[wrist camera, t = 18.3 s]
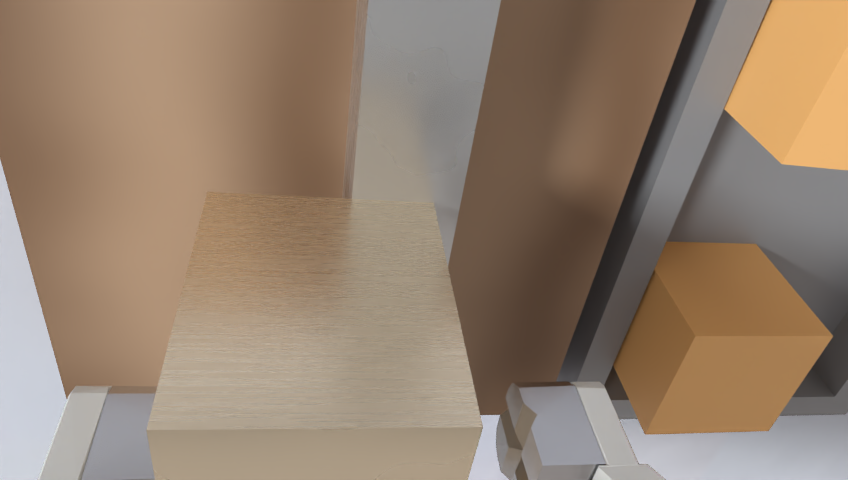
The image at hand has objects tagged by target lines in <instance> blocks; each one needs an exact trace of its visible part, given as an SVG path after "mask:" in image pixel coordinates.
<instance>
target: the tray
mask: <svg viewBox="0 0 848 480" xmlns="http://www.w3.org/2000/svg"><path fill="white" fill-rule="evenodd" d="M770 1H771V0H696V2H695V5H694V8H693V10H692V13H691V16H690V18H689V21H688V24H687V27H686V29H685V32H684V35H683V37H682V40H681V43H680V46H679V48H678V51H677V54H676V57H675V59H674V62H673V65H672V67H671V70H670V73H669V76H668V78H667V81H666V84H665V86H664V89H663V92H662V95H661V97H660V100H659V103H658V105H657V108H656V111H655V114H654V116H653V119H652V122H651V125H650V127H649V130H648V133H647V135H646V138H645V141H644V144H643V146H642V149H641V152H640V154H639V157H638V160H637V163H636V165H635V168H634V171H633V173H632V176H631V179H630V182H629V184H628V187H627V190H626V193H625V195H624V198H623V201H622V203H621V206H620V209H619V212H618V214H617V217H616V220H615V222H614V225H613V228H612V231H611V233H610V236H609V239H608V241H607V244H606V247H605V250H604V252H603V255H602V258H601V261H600V263H599V266H598V269H597V271H596V274H595V277H594V280H593V282H592V285H591V288H590V290H589V293H588V296H587V299H586V301H585V304H584V307H583V309H582V312H581V315H580V318H579V320H578V323H577V326H576V329H575V331H574V334H573V337H572V339H571V342H570V345H569V348H568V350H567V353H566V356H565V358H564V361H563V364H562V367H561V369H560V372H559V375H558V377H557V380H556V382H561V381H568V382H601V383H602V384H603V385H604V386H605V388H606V391H607V393H608V395H609V397H610V400H611V402H612V404H613V407H614V409H615V411H616V413H617V416H618V418H619V419H638V418H637V416H636V414H635V411H634V409H633V407H632V405H631V403H630V401H629V398H628V396H627V394H626V392H625V390H624V388H623V385H622V383H621V381H620V379H619V377H618V375H617V372H616V370H615V368H614V366H613V364H614V361H615V359H616V357H617V354H618V352H619V350H620V347H621V345H622V343H623V341H624V338H625V336H626V334H627V331H628V329H629V327H630V324H631V322H632V320H633V317H634V315H635V313H636V310H637V308H638V306H639V304H640V301H641V299H642V297H643V294H644V292H645V290H646V287H647V285H648V283H649V280H650V278H651V276H652V273H653V271H654V269H655V267H656V264H657V262H658V260H659V257H660V255H661V253H662V250H663V248H664V246H665V243H666V242H703V243H742V244H757V246H758V247H759V248H760V249H761V250H762V252H763V253H764V254H765V255H766V256H767V258H768V259H769V260H770V261H771V262H772V263H773V265H774V266H775V267H776V268H777V269H778V271H779V272H780V273H781V274H782V275H783V277H784V278H785V279H786V280H787V281H788V283H789V284H790V285H791V286H792V287H793V289H794V290H795V291H796V292H797V293H798V295H799V296H800V297H801V298H802V299H803V301H804V302H805V303H806V304H807V305H808V306H809V308H810V309H811V310H812V311H813V312H814V314H815V315H816V316H817V317H818V318H819V320H820V321H821V322H822V323H823V324H824V326H825V327H826V328H827V329H828V330H829V332H830V333H831V334H832V335H833V337H832V339H831V340H830V342H829V343H828V345H827V346H826V348H825V349H824V351H823V352H822V353H821V355H820V356H819V358H818V359H817V361H816V362H815V364H814V365H813V367H812V368H811V370H810V371H809V372H808V374H807V375H806V377H805V378H804V380H803V381H802V383H801V384H800V386H799V387H798V389H797V390H796V392H795V393H794V394H793V396H792V397H791V399H790V400H789V402H788V403H787V405H786V406H785V408H784V409H783V411H782V412H781V413H780V415H779V416H787V415H834V414H846V413H847V412H848V170H838V169H827V168H817V167H806V166H796V165H785V164H781V163H780V162H779V161H778V160H777V159H776V158H775V157H774V156H773V155H772V154H771V153H770V152H768V151H767V150H766V149H765V148H764V147H763V146H762V145H761V144H760V143H759V142H758V141H757V140H756V139H755V138H754V137H753V136H752V135H751V134H750V133H749V132H748V131H747V130H745V129H744V128H743V127H742V126H741V125H740V124H739V123H738V122H737V121H736V120H735V119H734V118H733V117H732V116H731V115H730V114H729V113H728V112H727V111H726V110H725V109H724V107H725V105H726V102H727V100H728V98H729V95H730V93H731V91H732V88H733V86H734V84H735V82H736V79H737V77H738V75H739V72H740V70H741V68H742V65H743V63H744V61H745V58H746V56H747V54H748V51H749V49H750V47H751V45H752V42H753V40H754V38H755V35H756V33H757V31H758V28H759V26H760V24H761V21H762V19H763V17H764V14H765V12H766V10H767V8H768V5H769V3H770Z"/></svg>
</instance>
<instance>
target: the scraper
mask: <svg viewBox="0 0 848 480" xmlns="http://www.w3.org/2000/svg"><path fill="white" fill-rule="evenodd" d="M500 3H501V0H357V5H356V19H355V32H354V46H353V59H352V73H351V86H350V100H349V114H348V127H347V141H346V154H345V168H344V181H343V195H342V198H325V197H305V196H284V195H264V194H243V193H222V192H207V195H206V199H205V203H204V206H203V210H202V214H201V218H200V222H199V226H198V230H197V234H196V238H195V242H194V246H193V249H192V253H191V257H190V261H189V265H188V269H187V273H186V277H185V281H184V285H183V289H182V293H181V296H180V300H179V304H178V308H177V312H176V316H175V320H174V324H173V328H172V332H171V336H170V339H169V343H168V347H167V351H166V355H165V359H164V363H163V367H162V371H161V375H160V379H159V383H158V386H157V390H156V394H155V398H154V402H153V406H152V410H151V414H150V418H149V422H148V426H147V429H146V431H147V437H148V443H149V448H150V454H151V460H152V465H153V471H154V477H155V480H468V477H469V473H470V470H471V466H472V463H473V460H474V456H475V453H476V449H477V446H478V442H479V439H480V436H481V432H482V429H483V425H482V421H481V416H480V412H479V407H478V403H477V398H476V393H475V389H474V384H473V380H472V375H471V371H470V366H469V361H468V357H467V352H466V348H465V343H464V338H463V334H462V329H461V325H460V320H459V316H458V311H457V306H456V302H455V297H454V293H453V288H452V284H451V279H450V274H449V270H448V264H449V259H450V254H451V249H452V244H453V239H454V234H455V229H456V224H457V219H458V214H459V209H460V204H461V199H462V194H463V189H464V184H465V179H466V174H467V169H468V164H469V159H470V154H471V149H472V144H473V139H474V133H475V128H476V123H477V118H478V113H479V108H480V103H481V98H482V93H483V88H484V83H485V78H486V73H487V68H488V63H489V58H490V53H491V48H492V43H493V38H494V33H495V28H496V23H497V18H498V13H499V8H500Z"/></svg>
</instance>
